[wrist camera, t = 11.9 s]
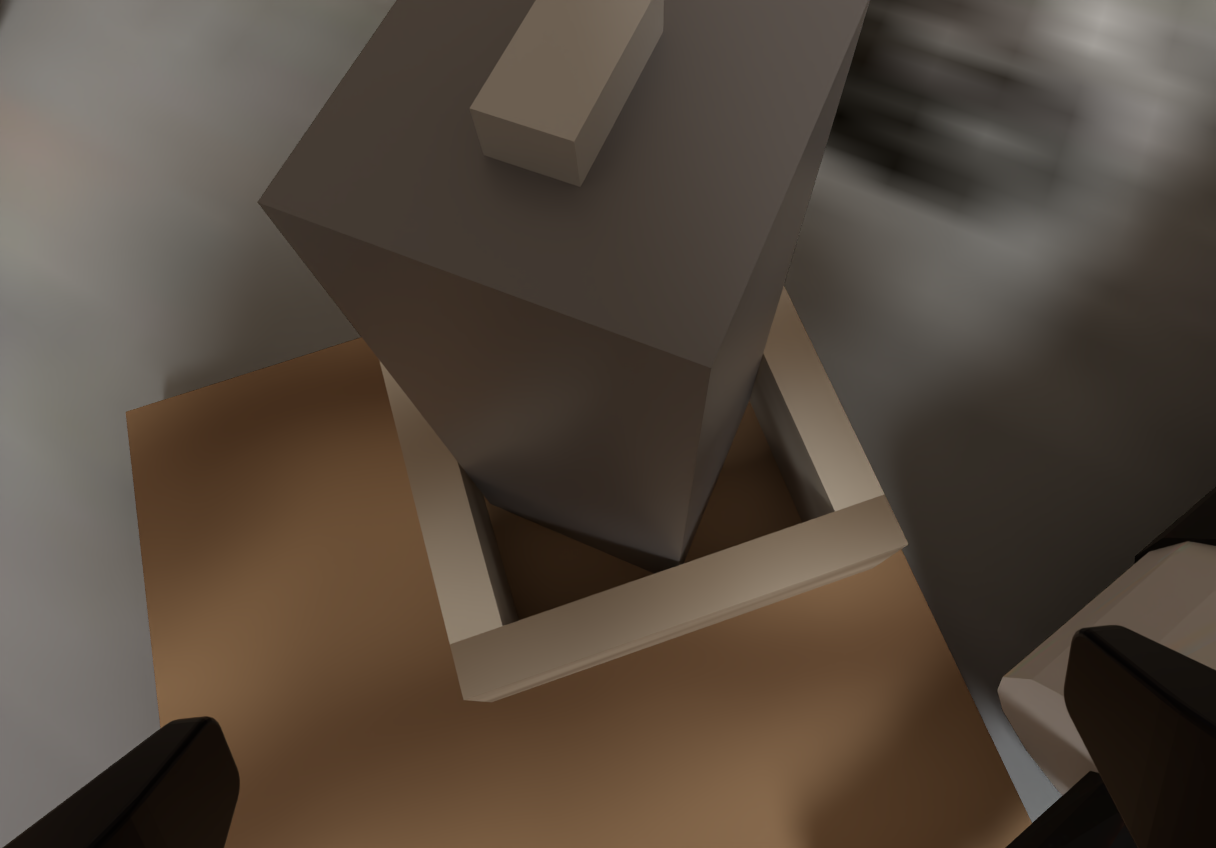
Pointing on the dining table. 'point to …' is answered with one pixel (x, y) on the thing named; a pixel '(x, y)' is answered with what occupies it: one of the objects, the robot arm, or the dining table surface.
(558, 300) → the charger
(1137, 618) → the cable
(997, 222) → the dining table surface
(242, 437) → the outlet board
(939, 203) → the dining table surface
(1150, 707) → the robot arm
